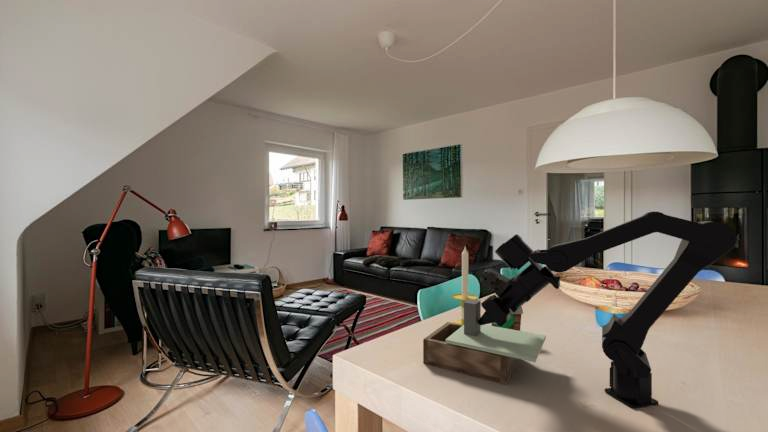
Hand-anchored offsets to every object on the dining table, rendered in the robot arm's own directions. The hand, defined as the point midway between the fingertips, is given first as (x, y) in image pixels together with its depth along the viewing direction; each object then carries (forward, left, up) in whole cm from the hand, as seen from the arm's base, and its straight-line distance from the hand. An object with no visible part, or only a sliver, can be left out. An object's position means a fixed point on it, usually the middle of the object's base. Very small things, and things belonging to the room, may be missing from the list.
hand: (479, 323), depth 85 cm
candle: (+26, -9, -10) cm, 29 cm away
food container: (+16, -16, -10) cm, 25 cm away
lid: (-3, -3, -3) cm, 6 cm away
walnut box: (+1, +1, -10) cm, 10 cm away
